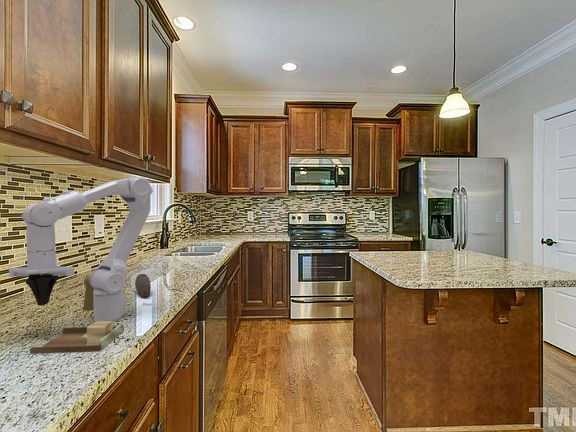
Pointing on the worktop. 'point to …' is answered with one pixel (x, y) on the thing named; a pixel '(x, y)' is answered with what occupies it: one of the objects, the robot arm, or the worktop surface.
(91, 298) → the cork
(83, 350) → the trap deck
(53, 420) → the worktop surface
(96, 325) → the maple cube
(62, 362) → the worktop surface
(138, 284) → the perforated stone tool
